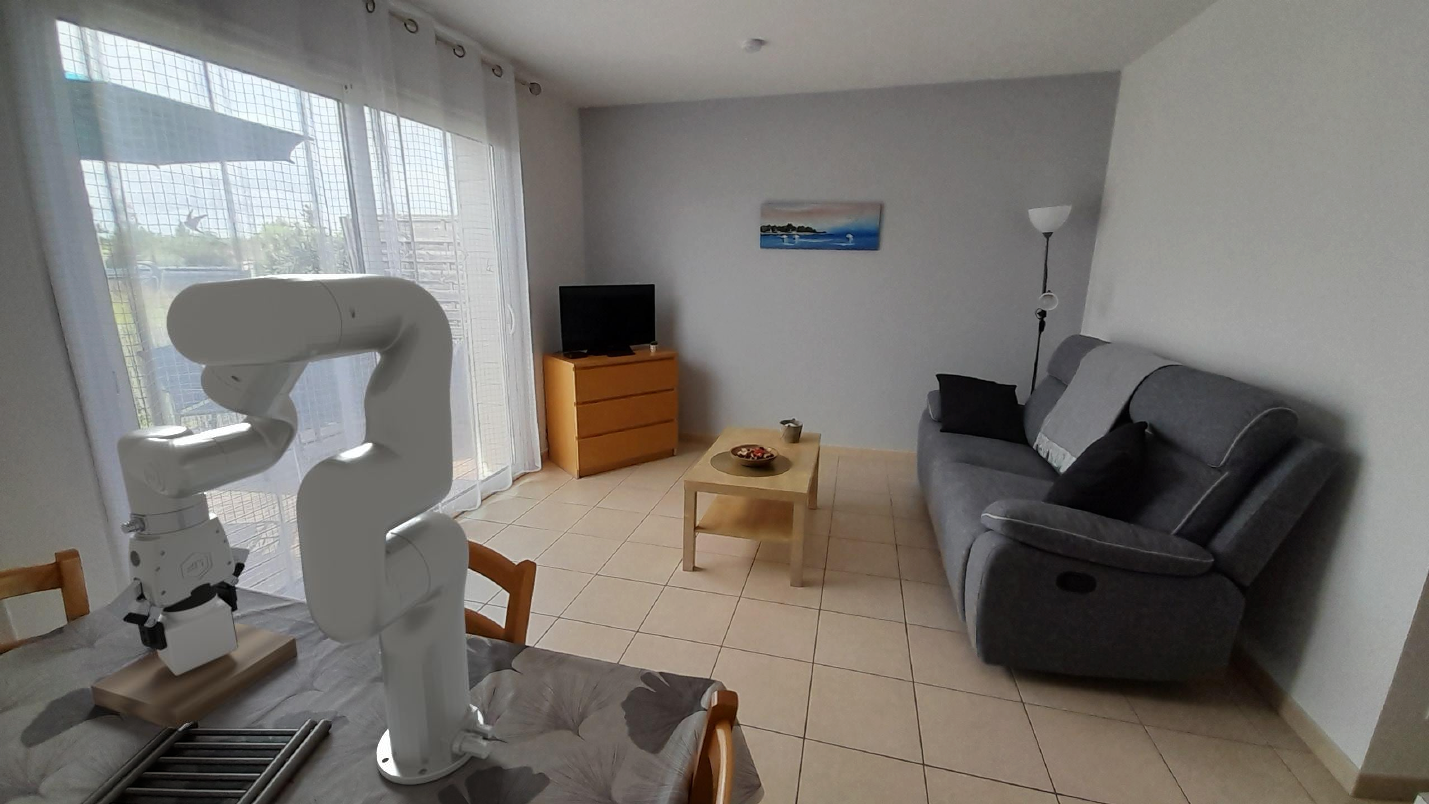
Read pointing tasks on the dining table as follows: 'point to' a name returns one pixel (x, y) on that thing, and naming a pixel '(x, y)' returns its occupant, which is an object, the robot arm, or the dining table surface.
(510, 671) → the dining table surface
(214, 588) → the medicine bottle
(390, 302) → the robot arm
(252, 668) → the wooden board
